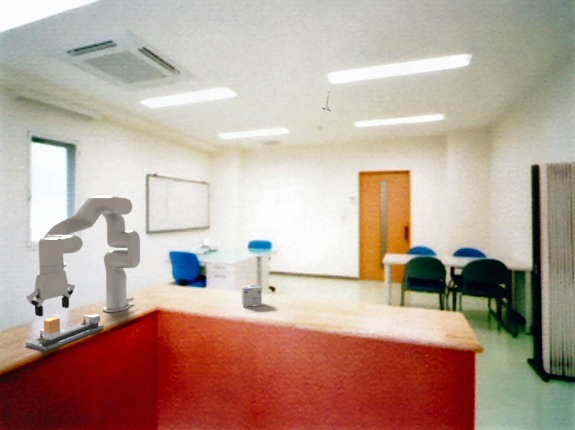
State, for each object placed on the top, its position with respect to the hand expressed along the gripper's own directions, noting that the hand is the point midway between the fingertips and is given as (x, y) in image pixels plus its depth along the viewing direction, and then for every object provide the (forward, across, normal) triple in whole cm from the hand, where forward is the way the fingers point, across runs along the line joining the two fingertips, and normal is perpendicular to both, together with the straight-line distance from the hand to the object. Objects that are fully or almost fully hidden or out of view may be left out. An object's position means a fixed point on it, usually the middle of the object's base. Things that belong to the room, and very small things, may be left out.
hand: (52, 311), depth 123 cm
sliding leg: (+11, +1, -2) cm, 11 cm away
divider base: (+14, -7, -3) cm, 16 cm away
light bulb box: (+15, -75, +49) cm, 91 cm away
